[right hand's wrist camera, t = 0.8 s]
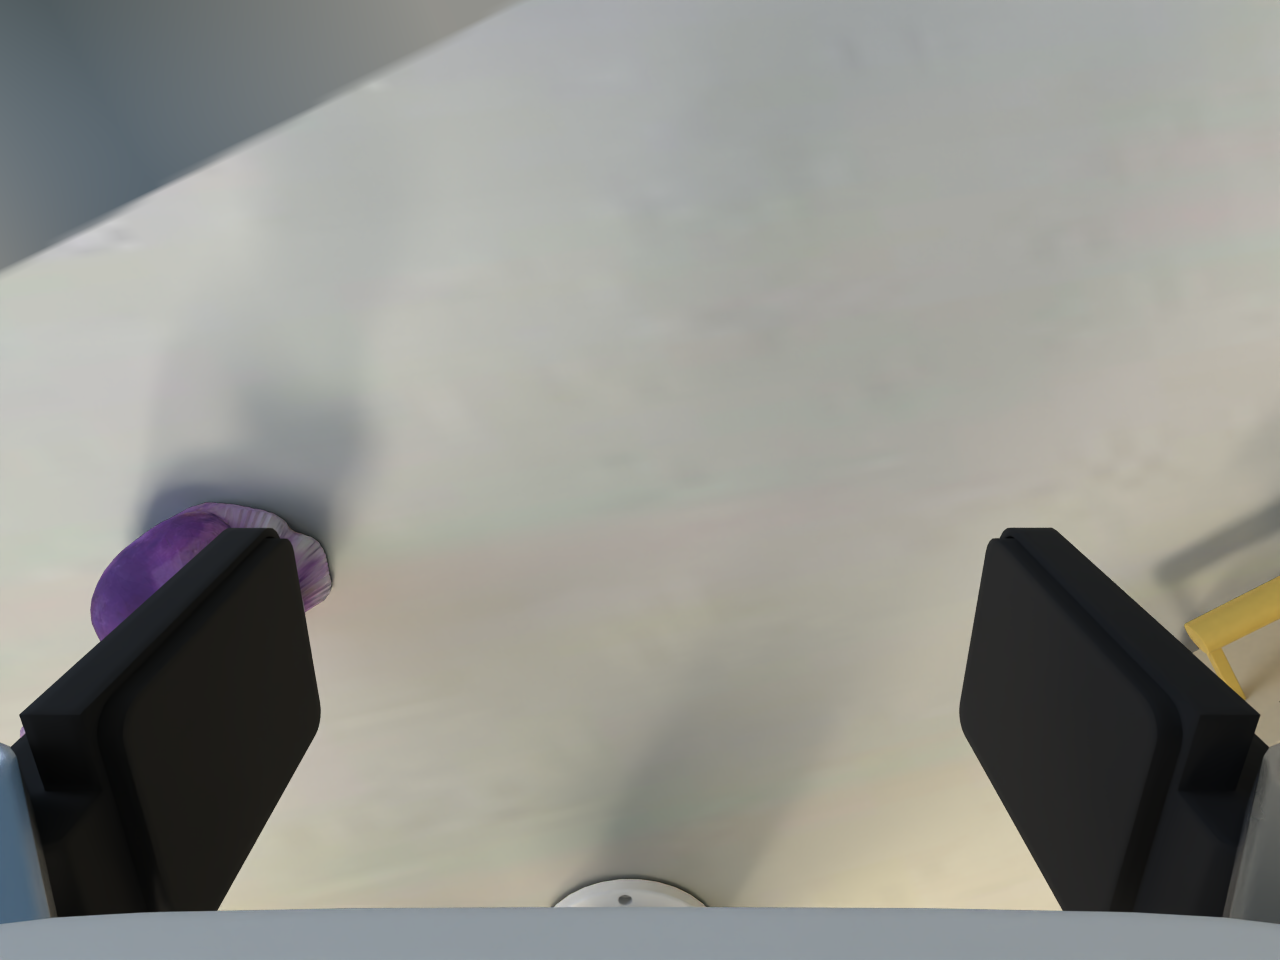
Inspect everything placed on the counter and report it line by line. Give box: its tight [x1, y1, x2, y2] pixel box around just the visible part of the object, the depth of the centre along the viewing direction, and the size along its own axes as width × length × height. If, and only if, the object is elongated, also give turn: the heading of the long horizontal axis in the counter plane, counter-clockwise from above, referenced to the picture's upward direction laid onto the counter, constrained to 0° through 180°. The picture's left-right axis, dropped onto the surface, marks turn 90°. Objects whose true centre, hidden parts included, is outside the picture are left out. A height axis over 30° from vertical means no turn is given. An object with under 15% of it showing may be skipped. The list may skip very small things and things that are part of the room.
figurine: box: [20, 502, 332, 738], centre depth 38 cm, size 9×10×15 cm
